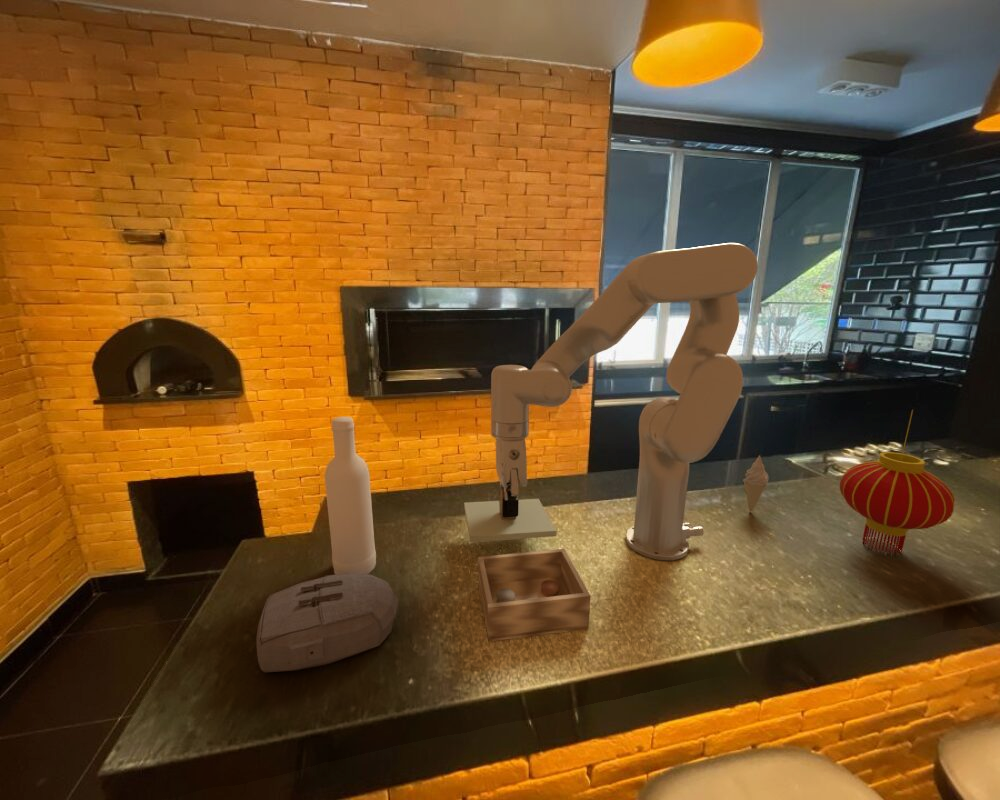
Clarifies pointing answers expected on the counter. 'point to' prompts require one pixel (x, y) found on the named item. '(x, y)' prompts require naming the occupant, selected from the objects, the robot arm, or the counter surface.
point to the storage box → (532, 594)
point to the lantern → (896, 496)
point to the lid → (507, 520)
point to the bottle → (349, 504)
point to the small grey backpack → (324, 621)
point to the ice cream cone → (755, 483)
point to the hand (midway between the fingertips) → (508, 511)
